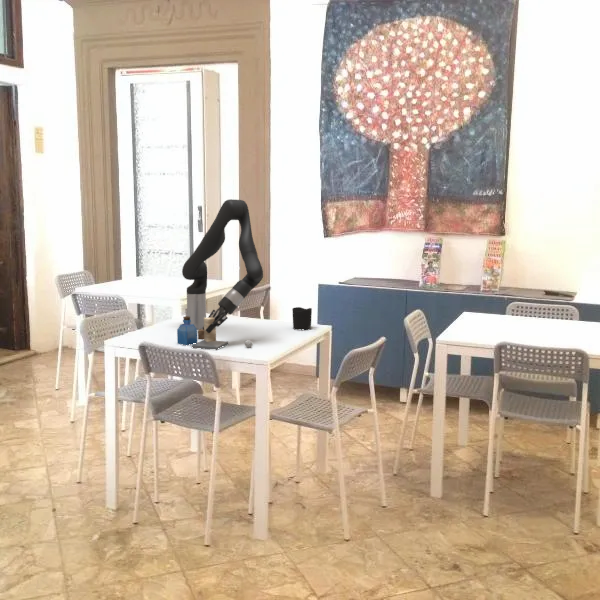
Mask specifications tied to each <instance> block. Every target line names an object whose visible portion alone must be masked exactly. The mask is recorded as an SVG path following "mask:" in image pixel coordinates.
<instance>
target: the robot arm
mask: <svg viewBox="0 0 600 600" xmlns="http://www.w3.org/2000/svg"><path fill="white" fill-rule="evenodd" d="M230 221H238V223H239V225H240V235H239V241H238V248H239V251H240V255H241V259H242V261H243V263H244V267H245V269H246V270H245V271H246V274H245V275H244V277H243V278H242V279H239V280H238V281H237V282H236V283H235V284H234V285H233V286H232V287H231V288H230V289H229V290H228V292H226V294H225V295H224V296H223V297H222V298H221V299H220V300H219V301H218V303H217V304H218V306H219V307H218V308H217V309H216V310H215V309H212V311H211V312H210V314H209V315H208V317H213V318H214V320H213V322H212V323H211V324H210V325H209V327H208V328H207V329H206V331H207V332H208V333H210V332H211V331H212V330H213V329H214V328H215V327H216V328H218V327H220V326H221V325H222V324H224V322H225V321H226V320H228V319H229V318H228V316H227V315H232V314H233V313H234V312H235V311H236V309H237V308H239V306H240V305H241V304H242V302H243V301H244V299H245V298H247V296H248V295H249V293H250V292H252V290H253V289H255V287H257V286H258V285H259V284H260V283H261V282H262V281H263V279H264V270H263V267H262V263H261V262H260V260H259V255H258V252H257V248H256V244H255V242H254V239H253V232H252V225H251V217H250V212H249V207H248V204H247V203H246V201H244V199H227V200H225V201H223V203H222V205H221V206H220V209H219V210H218V212H217V214H216V216H215V219H213V222H212V224H211V225H210V227H209V229H208V230H207V232H206V233H205V234H204V235H203V237H202V240H201V241H200V243H199V244H198V246H197V247H196V248H195V250H194V251H193V252H192V254H191V255H190V256H189V258H188V259H186V261H185V263H184V264H183V265H182V271H181V273H182V277H183V278H184V279H185V280H188V281H193V282H192V283H191V285H189V286H187V287H186V308H185V316H189V317H190V319H191V322H190V324H194V326H195V327H196V329H197V330H199V329H203V330H204V318H207V301H206V300H207V293H206V292H207V288H208V287H207V286H208V267H207V264H206V262H205V261H207V260H208V259H210V258H211V257H213V256H214V255H215V254H217V253H218V251H219V250H220V249H221V248H222V246H223V244H225V241H226V231H225V230H226V227H227V225H228V224H229V222H230Z"/></svg>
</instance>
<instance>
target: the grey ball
mask: <svg viewBox="0 0 600 600" xmlns="http://www.w3.org/2000/svg"><path fill="white" fill-rule="evenodd" d="M244 345H245V347H247V348H251V347H252V346H253V341H252V340H250V339H248V340H246V341H245V342H244Z"/></svg>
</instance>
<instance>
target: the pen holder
mask: <svg viewBox="0 0 600 600" xmlns="http://www.w3.org/2000/svg"><path fill="white" fill-rule="evenodd" d="M312 310H313V309H312V307H309V308H304V307H301V306H297V307H293V308H292V310H291V311H292V328H293V329H294V328H295V329H309V330H311V328H312ZM295 329H294V330H295Z"/></svg>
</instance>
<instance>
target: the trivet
mask: <svg viewBox="0 0 600 600" xmlns="http://www.w3.org/2000/svg"><path fill="white" fill-rule="evenodd" d="M227 344H228V345H229V341H227V340H226V341H225V340H224V341H223V340H216V341H212V342H206V341H205V340H204V339H201V340H200V341H197V343H196V344H192V345H190V346H191V348H192V347H193V348H192V349H197V348H201V349H200V350H210V349H218V348H220V347H222V346H224V347H225V345H226V346H228V345H227ZM203 348H205V349H203ZM222 348H223V347H222ZM220 349H221V348H220ZM218 350H219V349H218Z"/></svg>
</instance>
